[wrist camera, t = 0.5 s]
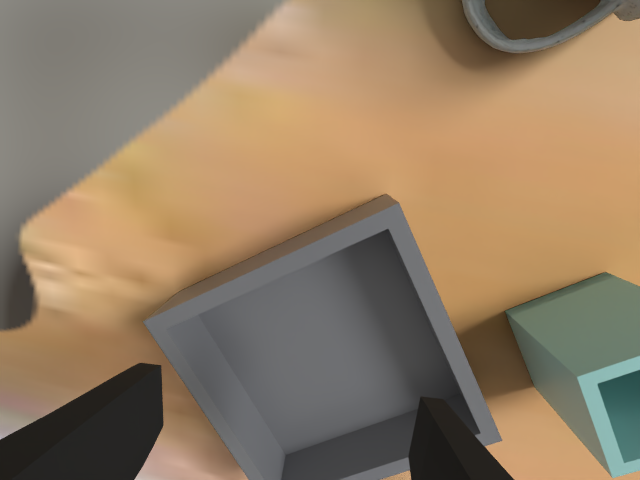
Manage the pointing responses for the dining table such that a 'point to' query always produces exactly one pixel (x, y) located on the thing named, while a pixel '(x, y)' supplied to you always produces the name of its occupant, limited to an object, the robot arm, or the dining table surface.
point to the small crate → (588, 363)
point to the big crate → (322, 351)
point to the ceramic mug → (625, 3)
